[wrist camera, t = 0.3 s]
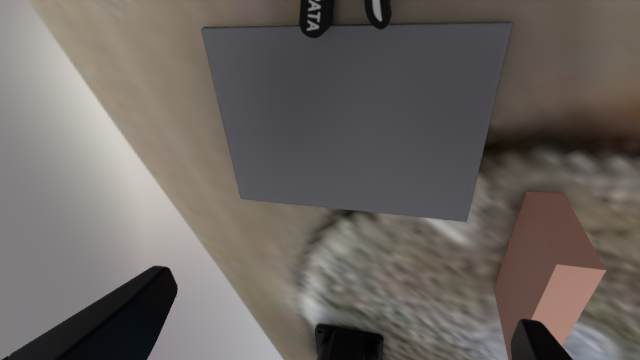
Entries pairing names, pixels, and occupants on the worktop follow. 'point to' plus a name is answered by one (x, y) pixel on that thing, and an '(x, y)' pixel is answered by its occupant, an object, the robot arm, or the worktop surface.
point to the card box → (546, 268)
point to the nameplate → (320, 14)
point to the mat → (359, 113)
